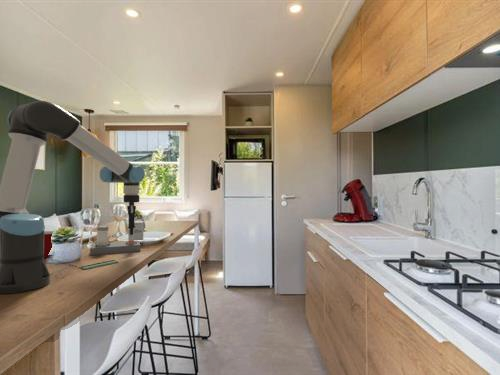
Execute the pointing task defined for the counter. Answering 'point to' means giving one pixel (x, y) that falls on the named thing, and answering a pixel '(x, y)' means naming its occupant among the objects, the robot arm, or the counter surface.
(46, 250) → the plastic cup
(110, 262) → the mat
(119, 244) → the dock
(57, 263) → the counter surface
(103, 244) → the block
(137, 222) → the supplement box
